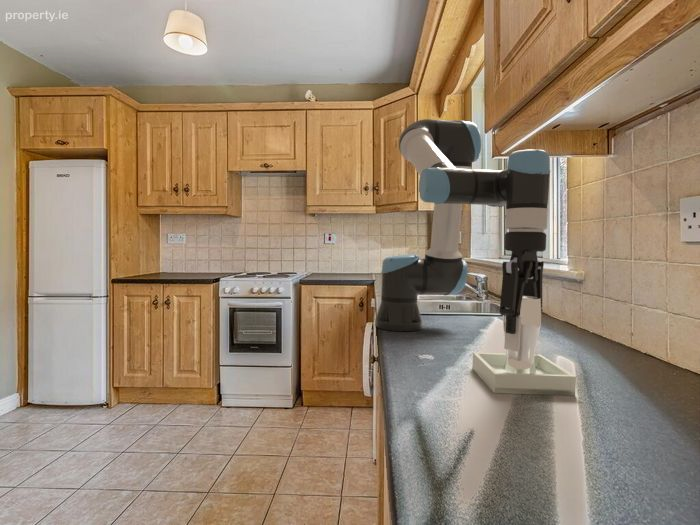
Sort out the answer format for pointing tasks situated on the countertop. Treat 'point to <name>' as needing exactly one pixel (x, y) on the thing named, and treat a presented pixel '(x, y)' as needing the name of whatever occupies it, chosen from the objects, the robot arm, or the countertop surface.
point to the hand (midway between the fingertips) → (520, 346)
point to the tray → (523, 376)
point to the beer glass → (525, 338)
